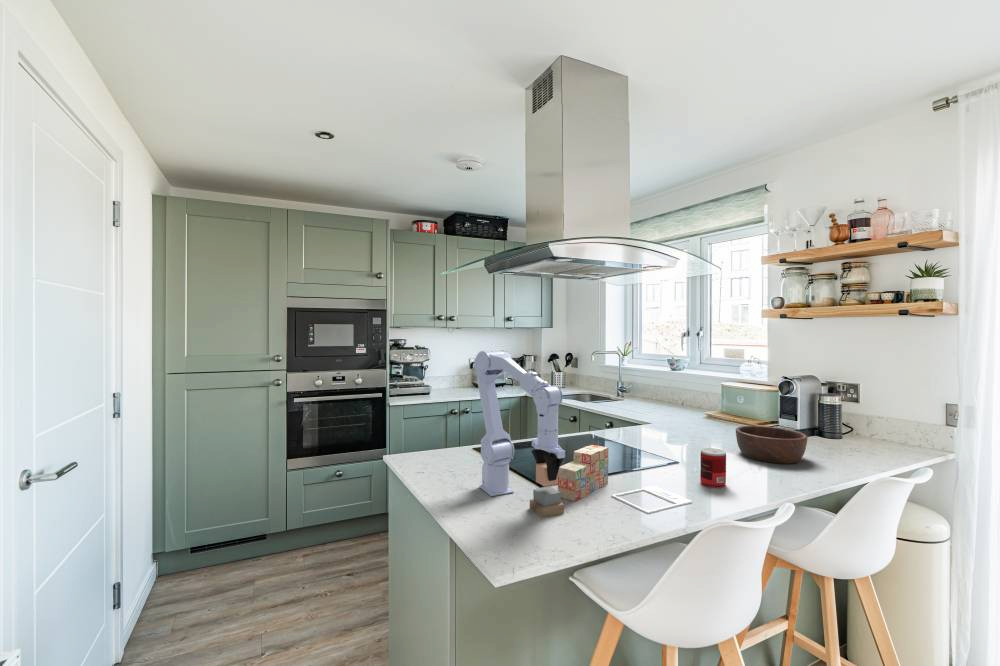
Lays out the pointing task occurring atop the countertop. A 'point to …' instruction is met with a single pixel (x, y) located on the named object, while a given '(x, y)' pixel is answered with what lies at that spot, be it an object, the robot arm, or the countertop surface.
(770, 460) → the wooden bowl
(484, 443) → the robot arm
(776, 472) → the countertop surface
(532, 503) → the walnut base block
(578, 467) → the stack of blocks
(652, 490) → the photo frame
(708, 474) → the canned food
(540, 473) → the terracotta block
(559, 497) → the gray top block
